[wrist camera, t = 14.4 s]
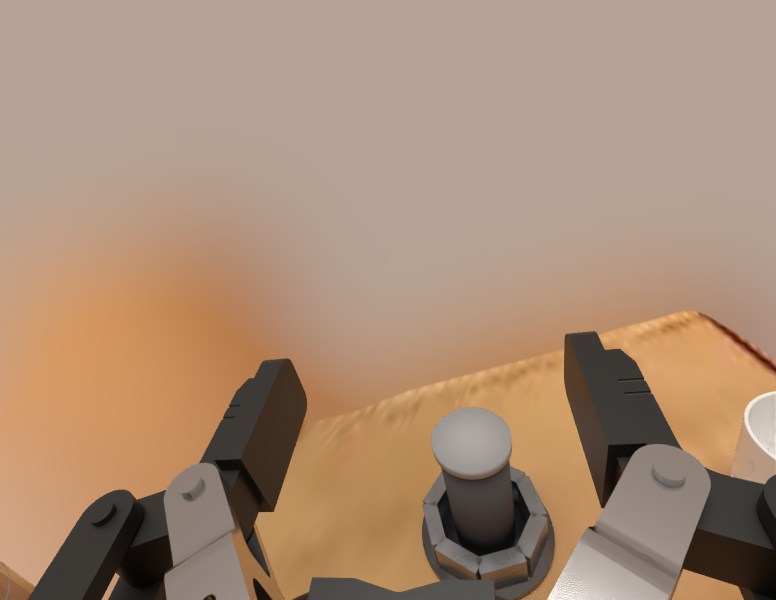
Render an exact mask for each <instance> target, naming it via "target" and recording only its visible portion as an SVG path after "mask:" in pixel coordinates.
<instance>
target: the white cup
mask: <svg viewBox="0 0 776 600" xmlns="http://www.w3.org/2000/svg"><path fill="white" fill-rule="evenodd" d="M774 475H776V391H773V392H769V393H765V394H762V395H760V396H758V397H756V398H755V399H753V400H752V401H751V402H750V403H749V404H748V406H747V407H746V409H745V413H744V417H743V421H742V425H741V429H740V434H739V438H738V442H737V446H736V450H735V454H734V459H733V465H732V469H731V477H735V478H739V479H744V480H748V481H753V482H757V483H762V484H765V483H766V482H767V480H768V479H769V478H771V477H772V476H774Z"/></svg>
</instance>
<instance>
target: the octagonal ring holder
mask: <svg viewBox="0 0 776 600" xmlns="http://www.w3.org/2000/svg"><path fill="white" fill-rule="evenodd" d="M510 474H511V484H512V494H513V504H514V514H515V525H516V539H515V543H514V545H513V547H512V548H509V549H505V550H502V551H498V552H494V553H491V554H487V555H484V556H480V557H479V556H477V555H475V554H473V553H472V552H470V551H468V550H466V549H465V548H463V547H462V546H461V544H460V542H459V540H458V537H457V533H456V529H455V524H454V520H453V516H452V512H451V507H450V503H449V499H448V494H447V490H446V486H445V481H444V477H443V473H442V472H441V474H440V475H439V477H438V478H437V480H436V481H435V483H434V484H433V486H432V488H431V489H430V491H429V492H428V494H427V495H426V497H425V498H424V500H423V503H424V505H422V506H423V510H424V514H425V515H424V519H423V526H422V539H423V545H424V549H425V552H426V556H427V558H428V561H429V563H430V565H431V567H432V569H433V571H434V572H435V574H436V575H437V576H438V578H439V579H440V580H441V581H443V580H493V581H494V587H495V593H496V595H499V596H502V597H504V598H507V599H509V600H519V599H521V598H523V597H524V596H526V595H528V594H529V593H531V592H532V591H533V590H535V589H536V588H537V587H538V585H539V584H540V583H541V582H542V581H543V579H544V578H545V576H546V575H547V573H548V571H549V569H550V566H551V563H552V560H553V555H554V531H553V526H552V522H551V519H550V517H549V514H548V512H547V510H546V508H545V507H544V505H543V503H542V502H541V500H540V498H539V496H538V494H537V492H536V490H535V488H534V486H533V484H532V482H531V480H530V478H529V476H525V472H522V471H520V470H518V469H515V468H513V467H510Z"/></svg>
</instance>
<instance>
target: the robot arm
mask: <svg viewBox="0 0 776 600" xmlns="http://www.w3.org/2000/svg"><path fill="white" fill-rule="evenodd" d="M564 382H565V389H566V394H567V398H568V401H569V404H570V407H571V411H572V414H573V417H574V420H575V424H576V427H577V430H578V433H579V437H580V440H581V443H582V446H583V450H584V453H585V456H586V459H587V463H588V466H589V469H590V472H591V476H592V479H593V482H594V485H595V489H596V492H597V495H598V498H599V502H600V505H601V508H604V510H603V512H602V513H601V515H600V517H599V519H598V521H597V523H596V524H595V525H594V526H593V527H591V526H590V527H588V528H587V530H586V531H585V532H584V534H583V535H582V537H581V539H580V540H579V542H578V544H577V546H576V548H575V550H574V551H573V553H572V555H571V557H570V559H569V561H568V562H567V564H566V566H565V568H564V570H563V572H562V574H561V575H560V577H559V579H558V581H557V583H556V585H555V586H554V588H553V590H552V592H551V594H550V596H549V597H548V599H547V600H672V598H673V595H674V592H675V590H676V587H677V584H678V582H679V579H680V576H681V574H682V571H683V569H686V570H689V571H692V572H695V573H698V574H702V575H705V576H708V577H711V578H714V579H717V580H721V581H724V582H727V583H730V584H733V585H736V586H738V587H739V589H740V591H741V594H742V596H743V598H744V600H776V475H774V476H772V477H771V478H769V479H768V480H767V482H766V483H765V484H762V483H757V482H753V481H748V480H744V479H739V478H735V477H730V476H726V475H723V474H719V473H717V472H714V471H711V470H709V469H707V468H705V467H704V466H703V465H702V464H701V463H700V462H699V461H698V460H697V459H696V458H695V457H693V456H692V455H691V454H689V453H687V452H686V451H683V449H682V448H681V447H680V445H679V444H678V442H677V440H676V438H675V436H674V434H673V432H672V430H671V428H670V427H669V425H668V423H667V421H666V419H665V417H664V415H663V413H662V411H661V409H660V407H659V405H658V404H657V402H656V400H655V398H654V396H653V394H651V390H650V388H649V386H648V384H647V383H646V381H644V377H643V375H642V373H641V371H640V369H639V367H638V365H637V363H636V362H635V361H634V360H633V359H632V358H630V357H629V356H628V355H627V354H626V353H624V352H623V351H622V350H621V349H611V350H604V348H603V345H602V343H601V341H600V339H599V336H598V334H597V333H596V332H595V331H593V332H582V333H571V334H566V335H565V349H564ZM306 410H307V398H306V394H305V391H304V389H303V387H302V384H301V382H300V380H299V377H298V375H297V373H296V371H295V368H294V366H293V364H292V362H291V360H289V359H276V360H265V361H263V362H262V364H261V365H260V367H259V369H258V371H257V373H256V375H255V378H251V379H248V380H247V381H246V382H245V383H244V384H243V385H242V386H241V387H240V388H239V389H238V390H237V391H236V393H235V395H234V397H233V399H232V401H231V403H230V405H229V408H228V409H227V411H226V412H225V414H224V417H223V420H221V422H220V424H219V426H218V428H217V430H216V432H215V434H214V436H213V438H212V440H211V441H210V443H209V446H208V447H207V449H206V451H205V453H204V455H203V457H202V459H201V461H200V462H199V464H195V465H193V466H191V467H189V468H187V469H185V470H184V471H182V472H181V473H180V474H178V475H177V476H176V477H175V478H174V479H173V481H172V482H171V483H170V485H169V486H168V488H167V490H165V491H162V492H159V493H156V494H153V495H150V496H147V497H144V498H141V499H138V500H137V499H136V498H135V497H134V496H133V495H132V494H131V493H130V492H129V491H127V490H116V491H112V492H110V493H107V494H106V495H104V496H102V497H101V498H99V499H98V500H96V501H95V502H94V503H92V504H91V505H90V506H89V507H88V508H87V509H86V510H85V512H84V513H83V514H82V516H81V517H80V518H79V520H78V521H77V523H76V525H75V526H74V528H73V529H72V531H71V532H70V534H69V536H68V537H67V539H66V540H65V542H64V544H63V545H62V546H61V548H60V550H59V551H58V553H57V554H56V556H55V558H54V559H53V561H52V562H51V564H50V565H49V567H48V568H47V570H46V571H45V573H44V575H43V576H42V578H41V579H40V581H39V582H38V584H37V586H36V587H35V586H33V585H32V584H31V583H29V582H28V581H27V580H25V579H24V578H23V577H21V576H20V575H18V574H17V573H16V572H14V571H13V570H12V569H10V568H9V567H8V566H6V565H5V564H3V563H2V562H0V600H101V599H102V597H103V595H104V594H105V592H106V590H107V588H108V586H109V584H110V582H111V580H112V578H113V576H114V574H115V572H116V573H117V574H118V575H119V576H120V577H119V579H118V581H117V583H116V585H115V587H114V589H113V591H112V593H111V595H110V597H109V599H108V600H285V598H284V597H283V595H282V593H281V591H280V589H279V586H278V584H277V582H276V579H275V576H274V573H273V570H272V568H271V565H270V562H269V559H268V556H267V553H266V551H265V548H264V545H263V542H262V539H261V537H260V534H259V531H258V528H257V526H256V524H255V520H256V518H257V515H258V512H274V509H275V506H276V503H277V500H278V497H279V494H280V491H281V488H282V485H283V482H284V479H285V476H286V473H287V469H288V466H289V463H290V460H291V457H292V454H293V451H294V448H295V445H296V442H297V439H298V436H299V433H300V430H301V427H302V424H303V420H304V417H305V414H306ZM293 600H509V599H507V598H504V597H502V596H499V595H496V593H495V587H494V581H493V580H443V581H439V582H436V583H432V584H429V585H425V586H421V587H418V588H414V589H410V590H407V591H403V592H394V591H391V590H388V589H385V588H382V587H379V586H376V585H373V584H370V583H367V582H364V581H361V580H358V579H355V578H312V581H311V586H310V590H309V593H305V594H303V595H301V596H299V597H296V598H294V599H293Z"/></svg>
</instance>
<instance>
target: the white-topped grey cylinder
mask: <svg viewBox="0 0 776 600" xmlns="http://www.w3.org/2000/svg"><path fill="white" fill-rule="evenodd" d="M431 443H432V448H433V453H434V456H435V459H436V461H437V462H438V464H439V465H440V466H441V468H442V473H443V477H444V481H445V486H446V490H447V494H448V499H449V503H450V507H451V512H452V516H453V520H454V524H455V529H456V533H457V537H458V540H459V542H460V544H461V546H462V547H463V548H465V549H466V550H468V551H470V552H472V553H473V554H475V555H477V556H479V557H480V556H484V555H487V554H491V553H494V552H498V551H502V550H505V549H509V548H512V547H513V545H514V543H515V539H516V525H515V514H514V504H513V494H512V484H511V474H510V464H509V458H510V456H511V452H512V439H511V433H510V430H509V427H508V426H507V424H506V423H505V421H504V420H503V419H502V418H501V417H500V416H498V415H497V414H495V413H493V412H491V411H489V410H486V409H482V408H475V407H469V408H462V409H458V410H455V411H452V412H450V413H449V414H447V415H445V416H444V417H443V418H442V419H441V420H440V421H439V422H438V423H437V424H436V426H435V428H434V430H433V433H432V438H431Z"/></svg>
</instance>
